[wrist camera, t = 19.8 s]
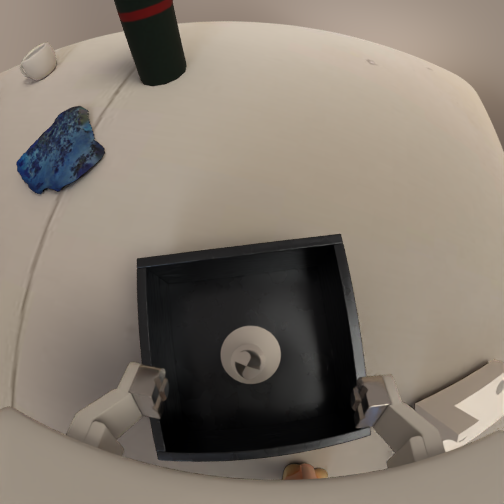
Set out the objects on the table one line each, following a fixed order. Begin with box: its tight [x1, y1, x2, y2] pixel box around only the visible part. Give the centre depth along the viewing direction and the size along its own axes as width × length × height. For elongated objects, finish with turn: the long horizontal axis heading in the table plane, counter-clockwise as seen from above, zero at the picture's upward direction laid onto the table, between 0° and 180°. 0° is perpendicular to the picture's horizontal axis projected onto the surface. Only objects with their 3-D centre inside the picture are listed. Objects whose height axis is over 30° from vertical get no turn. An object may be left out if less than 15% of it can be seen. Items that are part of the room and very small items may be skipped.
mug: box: [20, 42, 56, 80], centre depth 39 cm, size 12×8×8 cm
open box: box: [137, 234, 371, 462], centre depth 21 cm, size 16×16×7 cm
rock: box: [16, 106, 105, 194], centre depth 32 cm, size 15×17×2 cm
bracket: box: [415, 359, 504, 452], centre depth 18 cm, size 13×7×8 cm, turn 100°
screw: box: [221, 326, 281, 384], centre depth 17 cm, size 13×5×5 cm
